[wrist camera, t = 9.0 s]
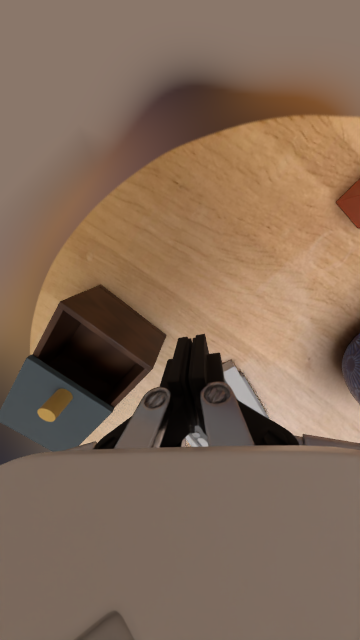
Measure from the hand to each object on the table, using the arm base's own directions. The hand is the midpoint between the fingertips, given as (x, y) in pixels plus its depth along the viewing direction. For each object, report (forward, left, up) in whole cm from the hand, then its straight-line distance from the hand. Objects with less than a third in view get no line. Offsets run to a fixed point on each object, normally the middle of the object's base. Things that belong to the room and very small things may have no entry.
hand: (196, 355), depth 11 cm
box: (-6, -19, -17) cm, 26 cm away
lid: (-6, -29, -8) cm, 30 cm away
